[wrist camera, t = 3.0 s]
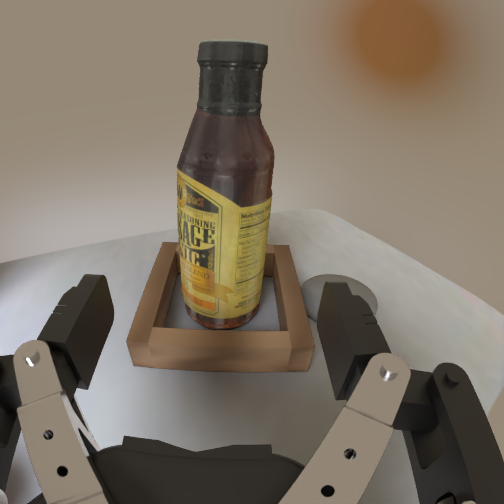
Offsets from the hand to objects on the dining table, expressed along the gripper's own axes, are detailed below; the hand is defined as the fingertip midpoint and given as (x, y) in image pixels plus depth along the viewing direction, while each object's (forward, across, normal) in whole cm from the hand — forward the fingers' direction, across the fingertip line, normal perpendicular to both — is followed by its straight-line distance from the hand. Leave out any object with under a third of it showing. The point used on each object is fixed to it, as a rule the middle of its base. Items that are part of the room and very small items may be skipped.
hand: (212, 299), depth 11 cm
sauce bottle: (+11, 0, +10) cm, 15 cm away
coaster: (+12, -10, +10) cm, 19 cm away
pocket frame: (+11, 0, +10) cm, 15 cm away
